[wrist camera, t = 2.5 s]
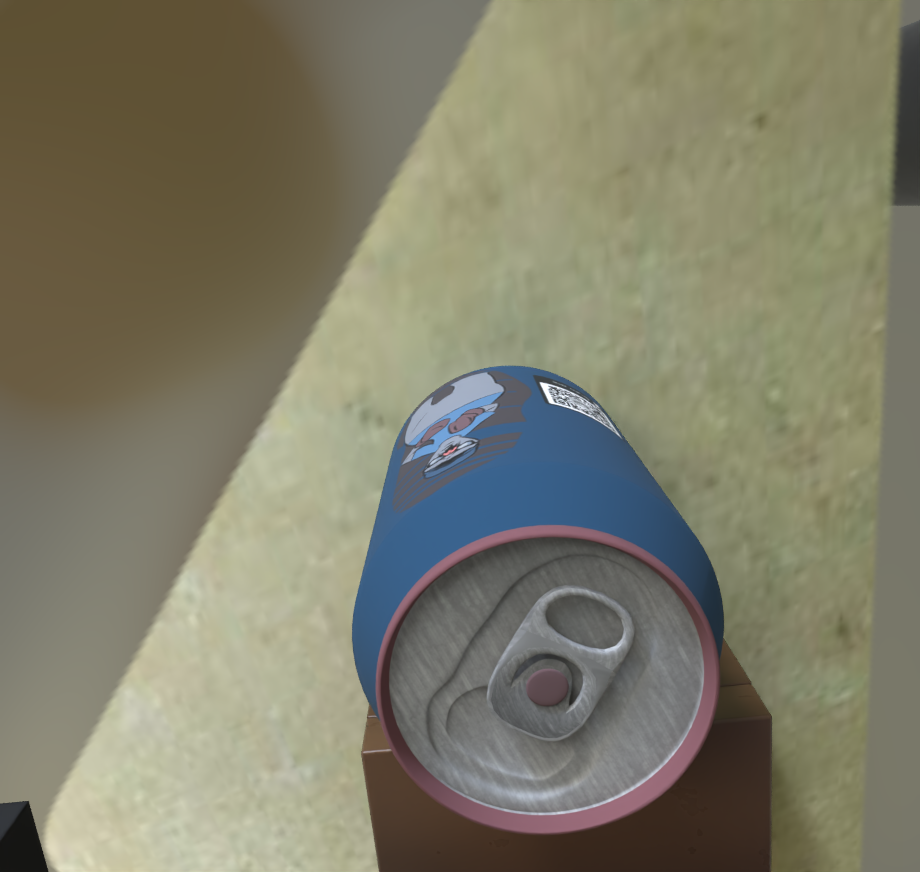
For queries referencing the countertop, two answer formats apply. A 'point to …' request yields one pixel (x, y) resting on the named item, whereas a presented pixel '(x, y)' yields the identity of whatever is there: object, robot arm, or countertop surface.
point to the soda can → (534, 610)
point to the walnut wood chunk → (610, 846)
